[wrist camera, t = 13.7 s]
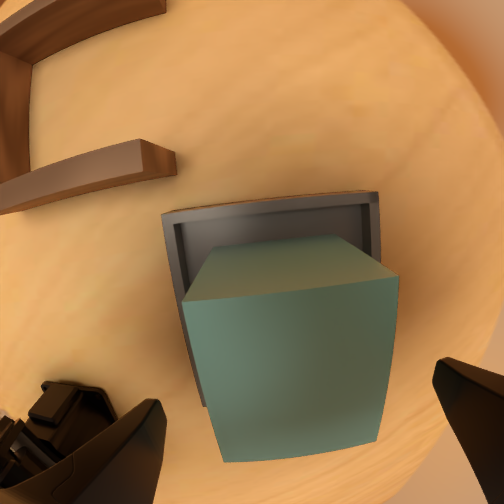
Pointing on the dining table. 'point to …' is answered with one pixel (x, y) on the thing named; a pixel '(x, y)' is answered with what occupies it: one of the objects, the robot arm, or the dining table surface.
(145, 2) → the frame
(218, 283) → the teal block
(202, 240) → the gray tray
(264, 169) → the dining table surface
